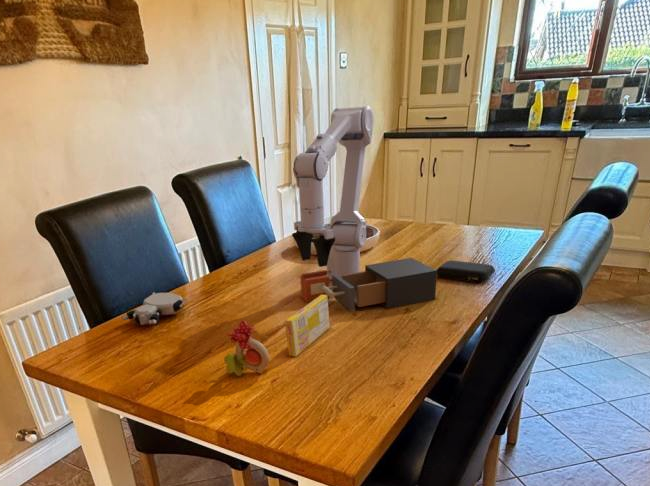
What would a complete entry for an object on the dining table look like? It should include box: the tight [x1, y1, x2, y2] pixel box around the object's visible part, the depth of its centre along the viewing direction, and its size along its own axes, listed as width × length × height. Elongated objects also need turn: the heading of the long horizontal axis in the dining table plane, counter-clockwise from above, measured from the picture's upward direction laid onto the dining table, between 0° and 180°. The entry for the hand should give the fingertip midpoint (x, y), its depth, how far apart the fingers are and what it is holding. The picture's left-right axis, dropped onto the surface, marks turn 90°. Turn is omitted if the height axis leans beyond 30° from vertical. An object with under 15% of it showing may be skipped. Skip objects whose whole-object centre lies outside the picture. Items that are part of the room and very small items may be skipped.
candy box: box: [284, 295, 331, 358], centre depth 113 cm, size 16×2×8 cm, turn 149°
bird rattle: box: [223, 319, 270, 377], centre depth 102 cm, size 6×11×9 cm
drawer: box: [322, 270, 386, 312], centre depth 131 cm, size 17×12×6 cm
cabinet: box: [364, 257, 438, 309], centre depth 134 cm, size 14×13×8 cm
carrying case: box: [436, 260, 496, 283], centre depth 144 cm, size 11×3×15 cm
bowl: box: [293, 223, 380, 256], centre depth 180 cm, size 30×30×8 cm
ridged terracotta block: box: [299, 269, 331, 303], centre depth 137 cm, size 7×5×7 cm
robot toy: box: [120, 291, 190, 326], centre depth 134 cm, size 12×4×15 cm
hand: (314, 262), depth 131 cm, fingers open, 7 cm apart
